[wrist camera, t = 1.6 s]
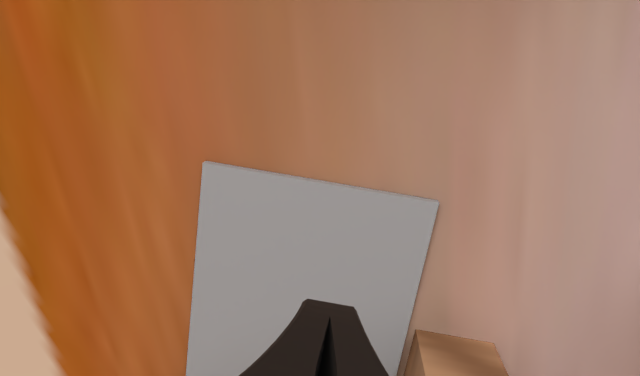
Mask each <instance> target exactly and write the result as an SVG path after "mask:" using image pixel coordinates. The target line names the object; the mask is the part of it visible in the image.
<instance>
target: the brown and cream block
mask: <svg viewBox="0 0 640 376" xmlns="http://www.w3.org/2000/svg"><path fill="white" fill-rule="evenodd" d="M404 376H508V374H507V371H506V369H505V367H504V365H503V363H502V361H501V358H500V356H499V354H498V352H497V350H496V348H495V345H494V343H490V342H484V341H478V340H473V339H467V338H461V337H456V336H450V335H445V334H439V333H433V332H428V331H422V330H415V334H414V338H413V342H412V346H411V350H410V353H409V357H408V361H407V365H406V369H405V373H404Z"/></svg>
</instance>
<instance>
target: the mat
mask: <svg viewBox="0 0 640 376" xmlns="http://www.w3.org/2000/svg"><path fill="white" fill-rule="evenodd" d="M438 206H439V202H438V200H433V199H427V198H421V197H415V196H409V195H404V194H398V193H392V192H386V191H380V190H374V189H368V188H362V187H357V186H351V185H345V184H339V183H333V182H327V181H321V180H315V179H310V178H304V177H298V176H292V175H286V174H280V173H274V172H268V171H263V170H257V169H251V168H245V167H239V166H233V165H227V164H221V163H216V162H210V161H205V162H203V167H202V179H201V192H200V205H199V217H198V230H197V242H196V255H195V267H194V280H193V292H192V305H191V317H190V330H189V342H188V355H187V367H186V376H239V375H240V374H241V373H242V372H244V371H245V370H246V369H247V368H248V367H249V366H251V365H252V364H253V363H254V362H255V361H256V360H257V359H258V358H259V357H260V356H261V355H262V354H263V353H264V352H265V351H266V350H267V349H268V348H269V347H270V346H271V345H272V344H273V343H274V342H275V340H276V339H277V338H278V337H279V336H280V335H281V333H282V332H283V331H284V330H285V328H286V327H287V326H288V325H289V323H290V322H291V321H292V319H293V318H294V316H295V315H296V313H297V312H298V310H299V308H300V306H301V304H302V302H303V301H304V300H306V299H313V300H318V301H324V302H330V303H336V304H341V305H347V306H353V307H354V308H355V309H356V311H357V313H358V316H359V318H360V321H361V323H362V326H363V328H364V330H365V332H366V334H367V337H368V339H369V341H370V343H371V345H372V347H373V348H374V350H375V352H376V354H377V356H378V358H379V359H380V361H381V363H382V365H383V366H384V368H385V370H386V371H387V373H388V375H389V376H396V375H397V371H398V367H399V363H400V359H401V355H402V351H403V346H404V342H405V338H406V334H407V330H408V326H409V322H410V318H411V314H412V310H413V306H414V302H415V298H416V294H417V290H418V286H419V282H420V278H421V274H422V270H423V266H424V262H425V258H426V254H427V250H428V246H429V242H430V238H431V234H432V230H433V226H434V222H435V218H436V214H437V210H438Z"/></svg>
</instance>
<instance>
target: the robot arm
mask: <svg viewBox="0 0 640 376" xmlns="http://www.w3.org/2000/svg"><path fill="white" fill-rule="evenodd" d="M239 376H389V375H388V373H387V371H386V370H385V368H384V366H383V365H382V363H381V361H380V359H379V358H378V356H377V354H376V352H375V350H374V348H373V347H372V345H371V343H370V341H369V339H368V337H367V334H366V332H365V330H364V328H363V326H362V323H361V321H360V318H359V316H358V313H357V311H356V309H355V308H354V307H353V306H347V305H341V304H336V303H330V302H324V301H318V300H313V299H306V300H304V301H303V302H302V304H301V306H300V308H299V310H298V312H297V313H296V315H295V316H294V318H293V319H292V321H291V322H290V323H289V325H288V326H287V327H286V328H285V330H284V331H283V332H282V333H281V335H280V336H279V337H278V338H277V339H276V340H275V342H274V343H273V344H272V345H271V346H270V347H269V348H268V349H267V350H266V351H265V352H264V353H263V354H262V355H261V356H260V357H259V358H258V359H257V360H256V361H255V362H254V363H253V364H252V365H251V366H249V367H248V368H247V369H246V370H245V371H244V372H242V373H241V374H240V375H239Z"/></svg>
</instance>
